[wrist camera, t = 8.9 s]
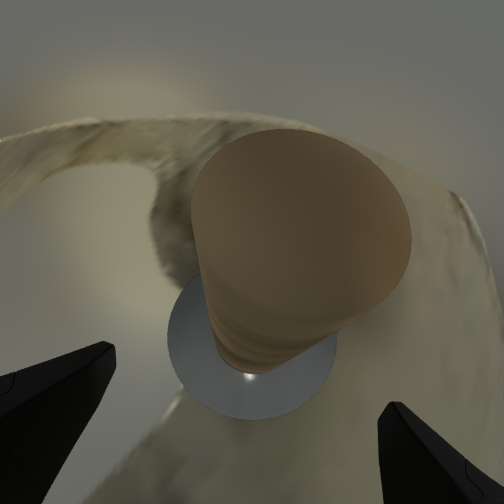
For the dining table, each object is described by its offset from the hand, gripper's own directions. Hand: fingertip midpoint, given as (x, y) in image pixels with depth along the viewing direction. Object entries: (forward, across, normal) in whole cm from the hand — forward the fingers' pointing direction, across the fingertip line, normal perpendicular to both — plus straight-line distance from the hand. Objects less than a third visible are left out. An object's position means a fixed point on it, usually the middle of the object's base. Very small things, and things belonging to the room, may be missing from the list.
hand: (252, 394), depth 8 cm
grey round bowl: (+11, 0, +6) cm, 12 cm away
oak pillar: (+8, 0, +3) cm, 9 cm away
